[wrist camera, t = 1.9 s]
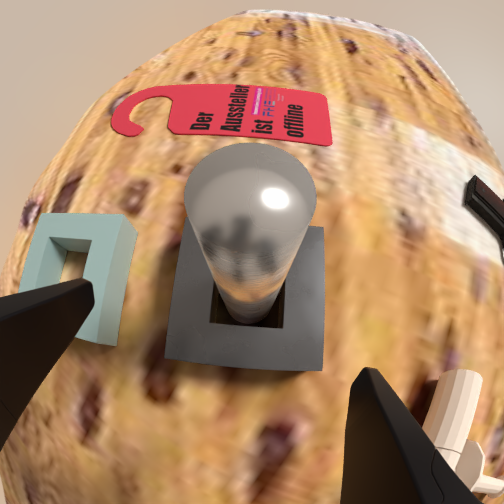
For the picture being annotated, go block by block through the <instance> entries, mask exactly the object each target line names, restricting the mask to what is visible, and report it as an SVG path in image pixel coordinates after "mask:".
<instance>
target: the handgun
mask: <svg viewBox="0 0 504 504" xmlns="http://www.w3.org/2000/svg"><path fill="white" fill-rule="evenodd" d="M466 204H468V205H469V206H470V207H471V208H472V209H473V210H474V211H475V212H476V213H477V214H479V215H480V216H481V217H482V218H483V219H484V220H485V221H486V222H487V223H488V224H489V225H490V226H491V228H492V229H493V230H494V231H495V232H496V233H497V234H498V235H499V236H500V239H501V240H503V249H504V199H503V201H502V200H501V199H500V198H499V197H498V196H497V195H496V194H495V193H494V192H493V191H492V190H491V189H490V188H489V187H488V186H487V185H486V184H485V183H484V182H483V181H481V180H480V179H479V178H478V177H477V176H476V175H474V176H473V177H472V178H471V179H470V180H469V183H468V189H467V194H466V200H465V205H466Z"/></svg>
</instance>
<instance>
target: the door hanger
mask: <svg viewBox="0 0 504 504" xmlns="http://www.w3.org/2000/svg"><path fill="white" fill-rule="evenodd" d="M161 96H163V97H169V98H170V99H171V100H172V101H173V103H172V108H171V112H170V117H169V122H168V128H169V129H170V130H171V131H172V132H173V133H174V134H179V135H220V136H239V137H253V138H264V139H274V140H284V141H292V142H300V143H307V144H314V145H320V146H330V145H332V134H331V126H330V118H329V110H328V103H327V98H326V97H325V96H324V95H322V94H320V93H314V92H308V91H301V90H294V89H286V88H277V87H267V86H254V85H235V84H187V85H169V86H156V87H152V88H147V89H145V90H142V91H139V92H137V93H135V94H132V95H130V96H129V97H128V98H126V99H125V100H124V101H123V102H122V103H121V104H120V105H119V106H118V107H117V109H116V110H115V112H114V114H113V116H112V120H111V125H112V127H113V129H114V130H115V131H117V132H118V133H120V134H123V135H125V136H128V137H134V136H137V135H139V134H140V133H141V132H142V131H143V130H144V128H142V127H141V126H140V125H137V124H135V123H133V122H131V121H129V114H130V113H131V111H132V109H133V108H134V107H135V106H136V105H137V104H138V103H140V102H142V101H144V100H146V99H149V98H153V97H161Z"/></svg>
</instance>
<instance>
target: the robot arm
mask: <svg viewBox="0 0 504 504" xmlns="http://www.w3.org/2000/svg"><path fill="white" fill-rule="evenodd" d="M94 305H95V298H94V290H93V284H92V282H91V281H89V280H86V279H84V278H79V279H75V280H71V281H66V282H62V283H58V284H54V285H49V286H45V287H41V288H37V289H33V290H29V291H24V292H20V293H16V294H12V295H8V296H4V297H0V452H1V450H2V448H3V446H4V444H5V442H6V440H7V439H8V437H9V435H10V433H11V431H12V430H13V428H14V426H15V425H16V423H17V421H18V419H19V418H20V416H21V414H22V413H23V411H24V409H25V408H26V406H27V405H28V403H29V402H30V400H31V398H32V397H33V395H34V394H35V392H36V391H37V389H38V388H39V386H40V385H41V383H42V382H43V381H44V379H45V378H46V376H47V375H48V373H49V372H50V370H51V369H52V368H53V366H54V365H55V363H56V362H57V361H58V359H59V358H60V357H61V355H62V354H63V353H64V351H65V350H66V349H67V347H68V346H69V345H70V343H71V342H72V340H73V339H74V338H75V336H76V334H77V333H78V331H79V330H80V328H81V326H82V325H83V323H84V322H85V320H86V319H87V317H88V315H89V314H90V312H91V311H92V309H93V308H94ZM340 504H484V503H482V502H481V501H479V500H478V499H477V498H476V496H475V495H474V494H473V493H472V492H471V491H470V490H469V488H468V487H467V486H466V485H465V484H464V483H463V481H462V480H461V479H460V478H459V477H458V476H457V474H456V473H455V472H454V471H453V470H452V468H451V467H450V466H449V464H448V463H447V462H446V460H445V459H444V458H443V456H442V455H441V454H440V452H439V451H438V449H435V445H434V444H433V443H432V441H431V440H430V439H429V437H428V436H427V434H426V433H425V432H424V430H423V429H422V428H421V426H420V425H419V424H418V422H417V421H416V419H415V418H414V417H413V415H412V414H411V413H410V411H409V410H408V409H407V407H406V406H405V405H404V403H403V402H402V401H401V399H400V398H399V397H398V396H397V394H396V393H395V392H394V390H393V389H392V388H391V386H390V385H389V384H388V382H387V381H386V380H385V379H384V377H383V376H382V375H381V373H380V372H379V371H378V370H377V369H375V368H370V367H365V368H363V369H362V370H361V372H360V373H359V375H358V376H357V378H356V379H355V381H354V382H353V384H352V386H351V389H350V397H349V406H348V414H347V421H346V429H345V446H344V465H343V478H342V490H341V499H340Z"/></svg>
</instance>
